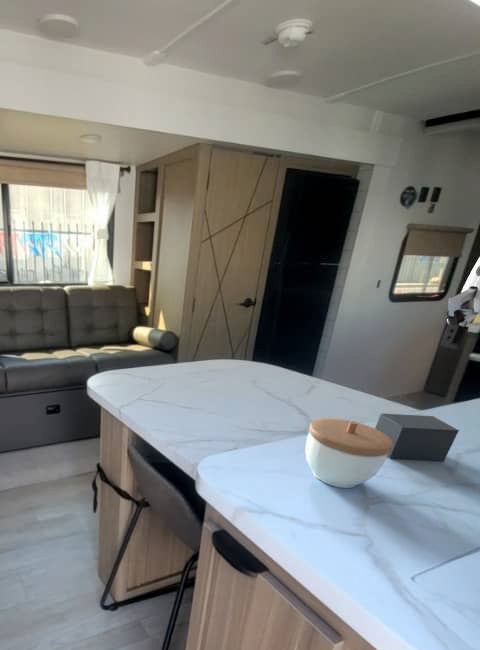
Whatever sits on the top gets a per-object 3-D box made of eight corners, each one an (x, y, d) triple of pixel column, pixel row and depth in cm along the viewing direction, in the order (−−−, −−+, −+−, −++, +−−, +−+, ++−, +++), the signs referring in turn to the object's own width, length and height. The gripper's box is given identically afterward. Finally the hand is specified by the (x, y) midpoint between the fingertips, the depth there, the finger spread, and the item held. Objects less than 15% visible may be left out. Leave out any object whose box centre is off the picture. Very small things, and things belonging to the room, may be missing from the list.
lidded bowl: (391, 490, 71) (416, 434, 66) (337, 502, 67) (360, 443, 62) (331, 456, 81) (349, 405, 77) (282, 464, 77) (297, 411, 72)
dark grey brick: (419, 445, 88) (432, 416, 85) (444, 461, 82) (459, 430, 79) (369, 442, 88) (380, 413, 85) (389, 458, 82) (402, 427, 79)
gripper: (501, 243, 62) (453, 353, 69) (581, 247, 66) (528, 351, 73) (452, 242, 68) (413, 342, 76) (528, 246, 72) (484, 341, 80)
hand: (470, 347), depth 75 cm, fingers open, 9 cm apart
